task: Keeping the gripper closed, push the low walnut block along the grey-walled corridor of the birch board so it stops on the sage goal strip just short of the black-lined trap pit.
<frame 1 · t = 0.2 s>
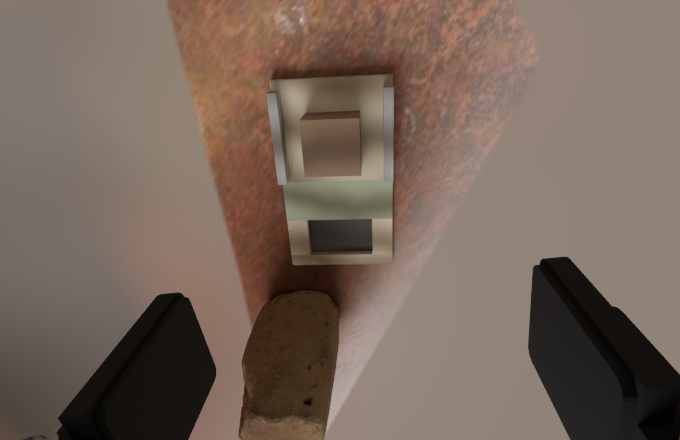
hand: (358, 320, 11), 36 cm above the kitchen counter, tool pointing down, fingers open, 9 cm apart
block: (303, 307, 56), on the kitchen counter
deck: (337, 178, 47), on the kitchen counter
walnut block: (334, 139, 44), point 1 cm above the kitchen counter, touching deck
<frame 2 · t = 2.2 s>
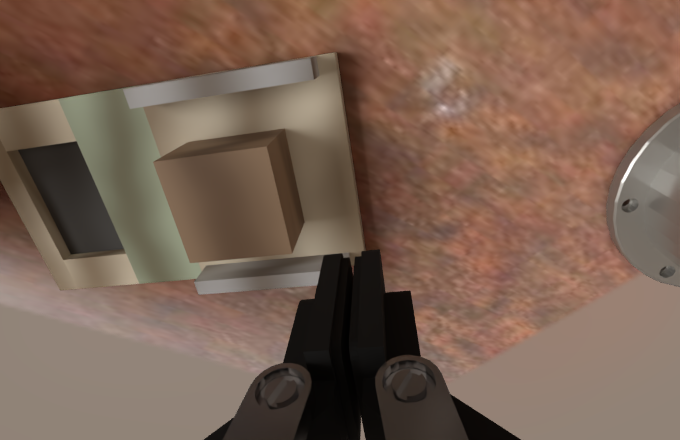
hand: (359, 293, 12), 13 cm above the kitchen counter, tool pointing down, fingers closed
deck: (180, 186, 26), on the kitchen counter
walnut block: (248, 183, 24), point 1 cm above the kitchen counter, touching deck
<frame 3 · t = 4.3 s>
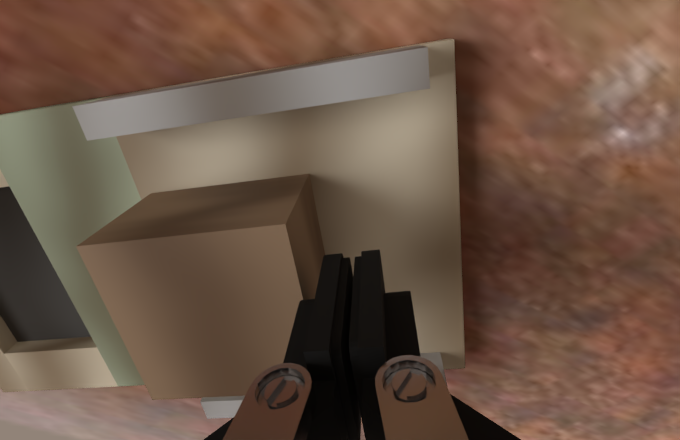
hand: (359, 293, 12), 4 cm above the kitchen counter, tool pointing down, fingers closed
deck: (178, 251, 17), on the kitchen counter
walnut block: (248, 255, 15), point 1 cm above the kitchen counter, touching gripper
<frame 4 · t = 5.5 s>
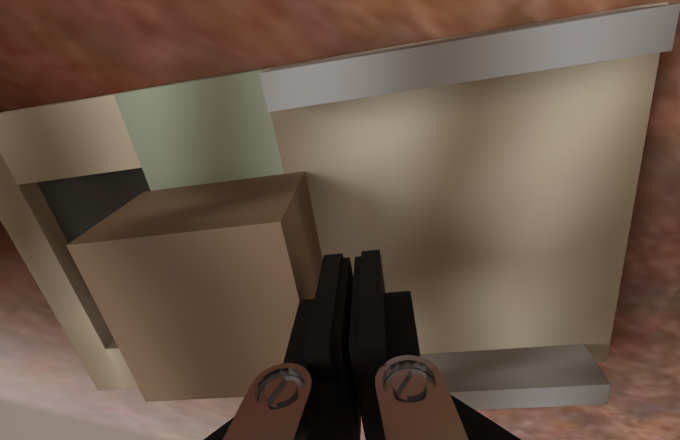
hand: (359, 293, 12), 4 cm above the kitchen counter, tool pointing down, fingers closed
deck: (305, 238, 16), on the kitchen counter
walnut block: (243, 254, 15), point 1 cm above the kitchen counter, touching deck, gripper
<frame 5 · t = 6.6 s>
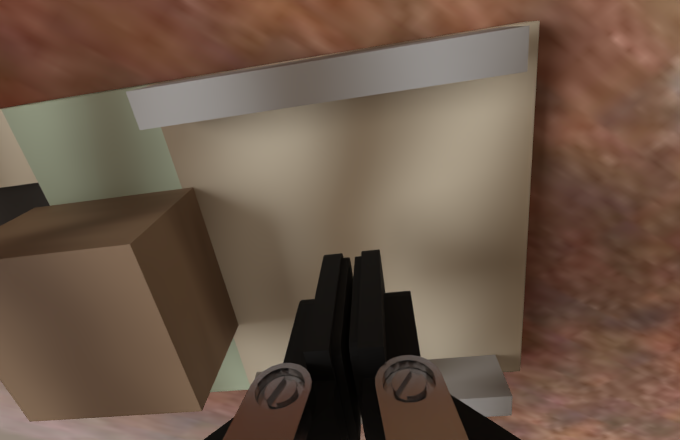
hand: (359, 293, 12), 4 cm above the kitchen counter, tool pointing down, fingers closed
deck: (217, 252, 16), on the kitchen counter
walnut block: (143, 269, 15), point 1 cm above the kitchen counter, touching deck
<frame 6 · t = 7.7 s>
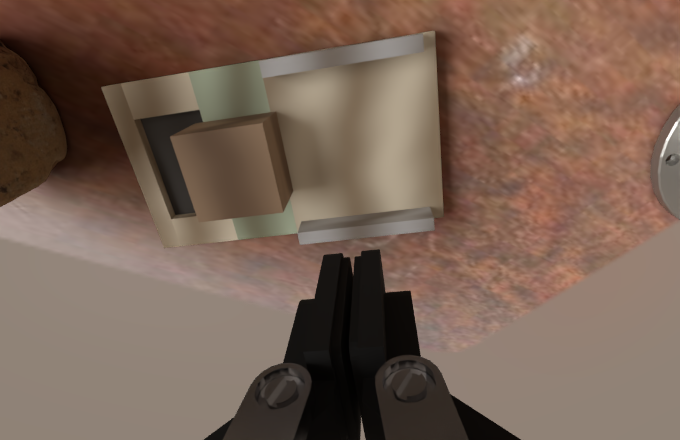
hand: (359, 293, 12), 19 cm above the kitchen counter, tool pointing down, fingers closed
block: (17, 108, 30), on the kitchen counter
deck: (282, 151, 30), on the kitchen counter
walnut block: (245, 158, 29), point 1 cm above the kitchen counter, touching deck
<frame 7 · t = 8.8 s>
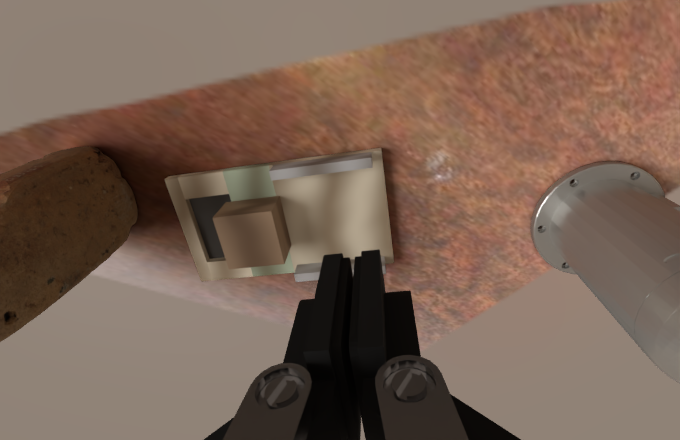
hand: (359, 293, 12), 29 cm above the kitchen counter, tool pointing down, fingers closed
block: (104, 188, 44), on the kitchen counter
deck: (284, 218, 43), on the kitchen counter
walnut block: (259, 224, 43), point 1 cm above the kitchen counter, touching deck
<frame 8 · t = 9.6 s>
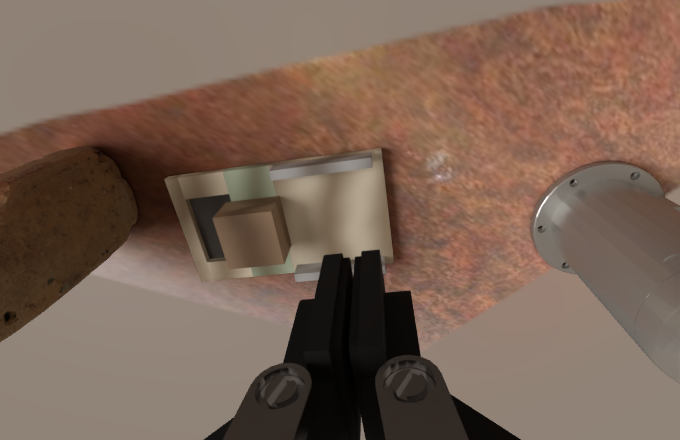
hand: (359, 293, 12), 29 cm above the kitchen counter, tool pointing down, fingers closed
block: (104, 188, 44), on the kitchen counter
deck: (284, 218, 43), on the kitchen counter
walnut block: (259, 224, 43), point 1 cm above the kitchen counter, touching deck
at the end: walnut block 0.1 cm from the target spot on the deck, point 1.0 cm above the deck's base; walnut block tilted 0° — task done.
